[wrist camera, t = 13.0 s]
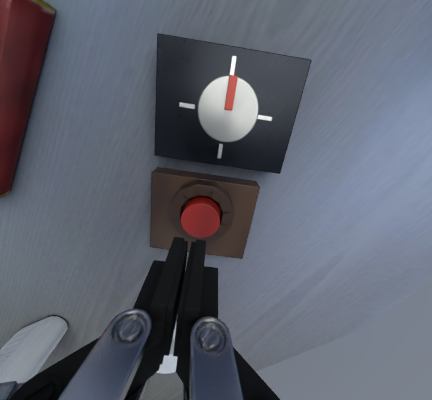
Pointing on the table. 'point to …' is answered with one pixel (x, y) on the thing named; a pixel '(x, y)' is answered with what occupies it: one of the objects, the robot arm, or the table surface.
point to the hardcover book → (19, 74)
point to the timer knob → (228, 108)
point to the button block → (209, 188)
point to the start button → (200, 217)
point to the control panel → (200, 77)
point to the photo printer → (30, 349)
